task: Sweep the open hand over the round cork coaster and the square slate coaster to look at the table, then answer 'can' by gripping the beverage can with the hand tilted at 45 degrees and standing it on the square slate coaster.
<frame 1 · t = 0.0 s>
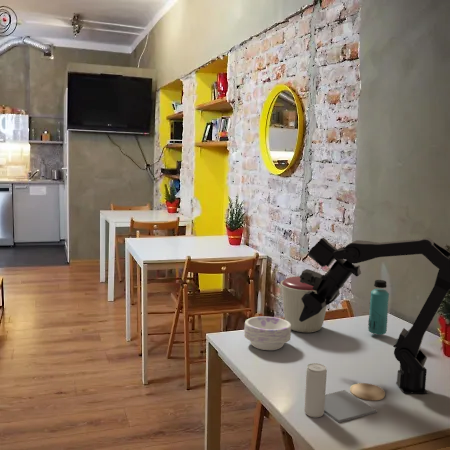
hand: (305, 316, 157), 15 cm above the table, tool tilted 35°, fingers open, 9 cm apart
canister: (303, 328, 192), on the table
slate coaster: (341, 406, 133), on the table
paper bowls: (266, 346, 174), on the table
beverage can: (314, 414, 129), on the table
beverage bottle: (376, 336, 186), on the table
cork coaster: (367, 392, 141), on the table
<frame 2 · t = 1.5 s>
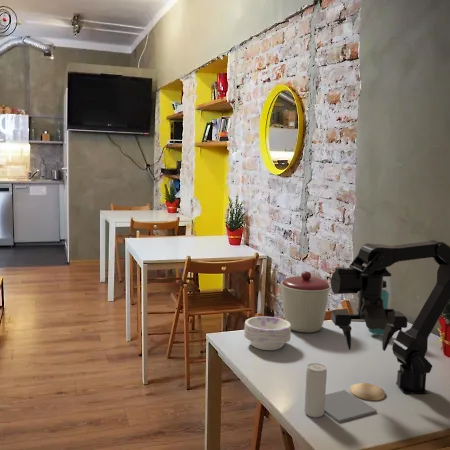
hand: (366, 349, 140), 12 cm above the table, tool pointing down, fingers open, 9 cm apart
nothing on the table moved.
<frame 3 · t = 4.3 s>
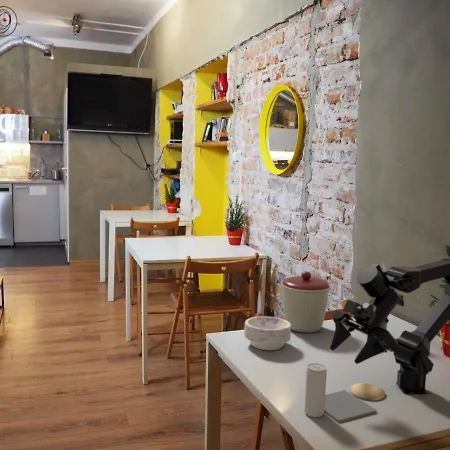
hand: (342, 356, 131), 13 cm above the table, tool tilted 45°, fingers open, 9 cm apart
nothing on the table moved.
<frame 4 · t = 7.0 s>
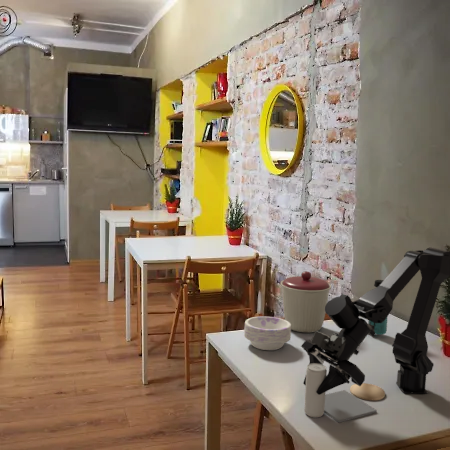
hand: (310, 389, 128), 7 cm above the table, tool tilted 45°, fingers closed on beverage can, 5 cm apart
beverage can: (314, 414, 129), on the table, touching gripper
everything else where it was.
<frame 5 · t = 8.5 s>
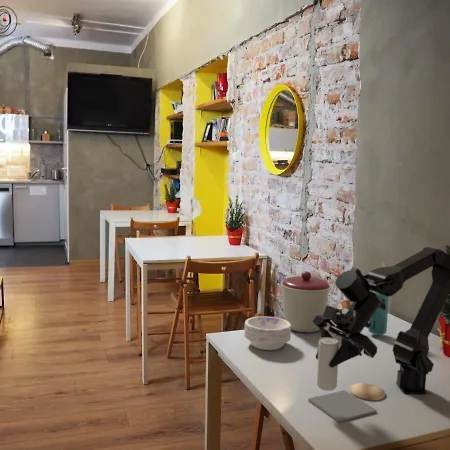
hand: (323, 362, 128), 13 cm above the table, tool tilted 45°, fingers closed on beverage can, 5 cm apart
beverage can: (326, 387, 130), point 6 cm above the table, touching gripper
everything else where it was.
when the fingers open (8 cm above the table, at t = 10.2 s): beverage can stays where it is, resting on slate coaster.
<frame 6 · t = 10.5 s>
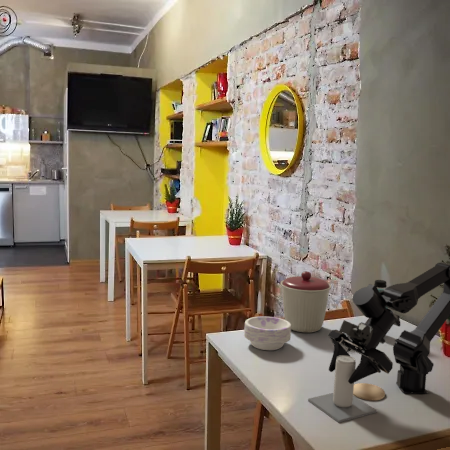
hand: (339, 376, 131), 8 cm above the table, tool tilted 45°, fingers open, 7 cm apart
beverage can: (342, 404, 133), resting on slate coaster
everything else where it was.
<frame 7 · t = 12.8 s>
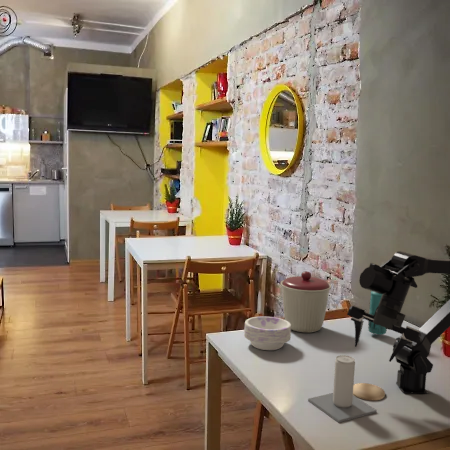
hand: (372, 354, 138), 11 cm above the table, tool tilted 20°, fingers open, 9 cm apart
nothing on the table moved.
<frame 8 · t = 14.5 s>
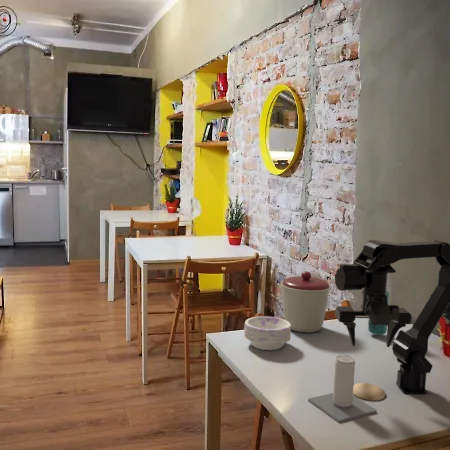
hand: (370, 346, 140), 13 cm above the table, tool pointing down, fingers open, 9 cm apart
nothing on the table moved.
at the end: beverage can 0.2 cm from the slate coaster (horizontally); beverage can tilted 0°; beverage can resting on slate coaster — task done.
